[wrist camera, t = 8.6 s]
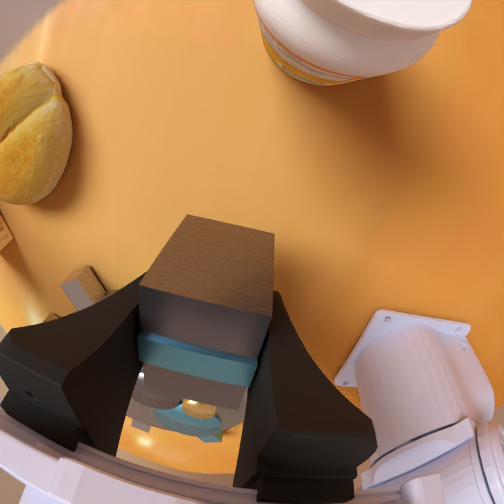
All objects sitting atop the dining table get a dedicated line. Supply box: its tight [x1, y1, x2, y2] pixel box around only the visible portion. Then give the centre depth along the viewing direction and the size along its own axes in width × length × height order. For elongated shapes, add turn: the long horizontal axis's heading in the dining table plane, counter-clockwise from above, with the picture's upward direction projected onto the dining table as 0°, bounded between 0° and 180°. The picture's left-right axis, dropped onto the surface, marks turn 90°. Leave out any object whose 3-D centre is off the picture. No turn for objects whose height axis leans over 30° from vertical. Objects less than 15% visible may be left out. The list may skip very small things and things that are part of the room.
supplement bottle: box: [253, 0, 472, 86], centre depth 7 cm, size 5×5×10 cm
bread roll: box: [0, 62, 73, 205], centre depth 12 cm, size 8×9×4 cm
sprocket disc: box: [43, 265, 248, 443], centre depth 20 cm, size 21×21×6 cm
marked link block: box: [137, 215, 274, 410], centre depth 11 cm, size 4×5×5 cm
